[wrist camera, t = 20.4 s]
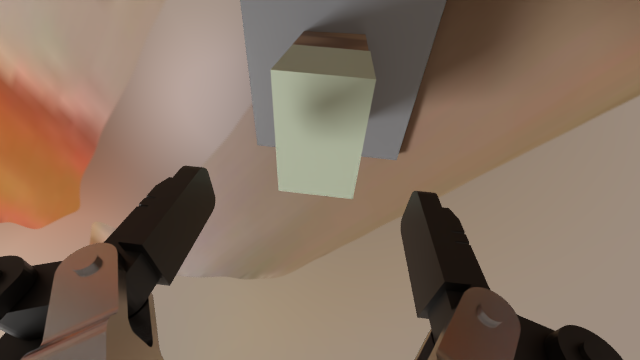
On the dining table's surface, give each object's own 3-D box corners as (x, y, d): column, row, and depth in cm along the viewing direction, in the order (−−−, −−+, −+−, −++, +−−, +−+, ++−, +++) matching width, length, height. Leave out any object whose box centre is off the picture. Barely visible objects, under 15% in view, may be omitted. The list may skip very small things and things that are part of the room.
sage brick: (293, 146, 19) (278, 190, 15) (292, 44, 14) (270, 69, 11) (353, 153, 19) (352, 199, 15) (370, 51, 14) (376, 79, 10)
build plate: (260, 140, 26) (257, 145, 25) (241, -38, 17) (235, -39, 16) (395, 154, 25) (396, 160, 25) (448, -22, 16) (453, -22, 16)
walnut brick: (305, 118, 23) (294, 148, 19) (304, 30, 18) (291, 46, 15) (354, 122, 23) (354, 153, 19) (365, 34, 18) (368, 50, 14)
